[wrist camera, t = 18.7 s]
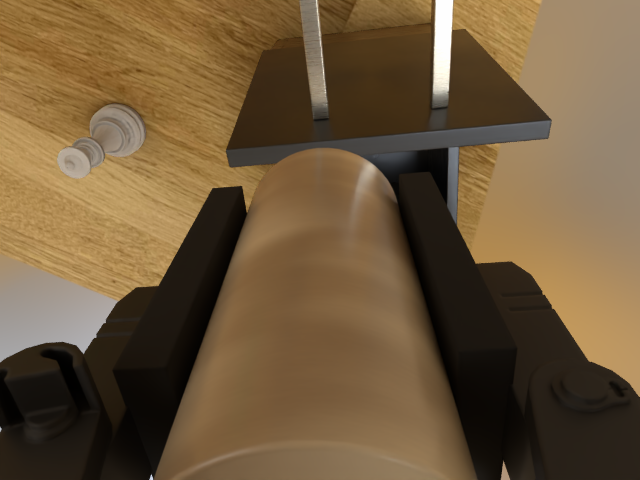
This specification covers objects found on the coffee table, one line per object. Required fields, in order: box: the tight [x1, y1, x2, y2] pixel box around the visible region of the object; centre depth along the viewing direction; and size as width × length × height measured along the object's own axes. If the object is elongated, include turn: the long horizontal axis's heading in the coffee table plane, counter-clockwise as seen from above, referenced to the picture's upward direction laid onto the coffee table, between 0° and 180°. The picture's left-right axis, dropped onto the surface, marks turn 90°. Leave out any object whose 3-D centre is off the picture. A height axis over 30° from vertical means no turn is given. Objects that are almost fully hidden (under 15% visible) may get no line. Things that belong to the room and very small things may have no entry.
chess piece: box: [57, 103, 146, 178], centre depth 39 cm, size 4×4×10 cm
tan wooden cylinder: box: [153, 148, 478, 480], centre depth 9 cm, size 4×4×9 cm
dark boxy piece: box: [270, 23, 459, 225], centre depth 38 cm, size 14×13×9 cm
